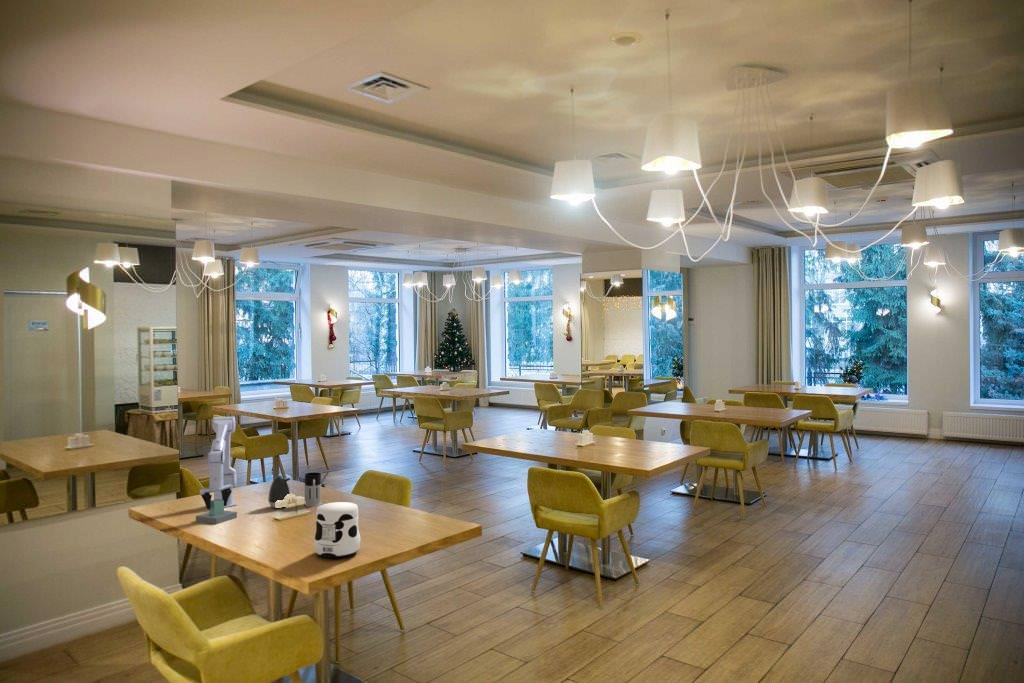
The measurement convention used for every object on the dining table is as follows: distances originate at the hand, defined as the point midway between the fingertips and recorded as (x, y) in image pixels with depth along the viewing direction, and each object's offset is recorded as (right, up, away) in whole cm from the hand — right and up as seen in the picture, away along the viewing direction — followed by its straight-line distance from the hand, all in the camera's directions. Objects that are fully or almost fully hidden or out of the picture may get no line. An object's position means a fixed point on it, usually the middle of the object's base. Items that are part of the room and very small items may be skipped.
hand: (216, 507), depth 309 cm
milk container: (+67, -6, -48) cm, 82 cm away
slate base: (0, -5, 0) cm, 5 cm away
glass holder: (+36, -5, +25) cm, 45 cm away
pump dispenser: (+21, -5, +22) cm, 31 cm away
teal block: (0, -3, 0) cm, 3 cm away
